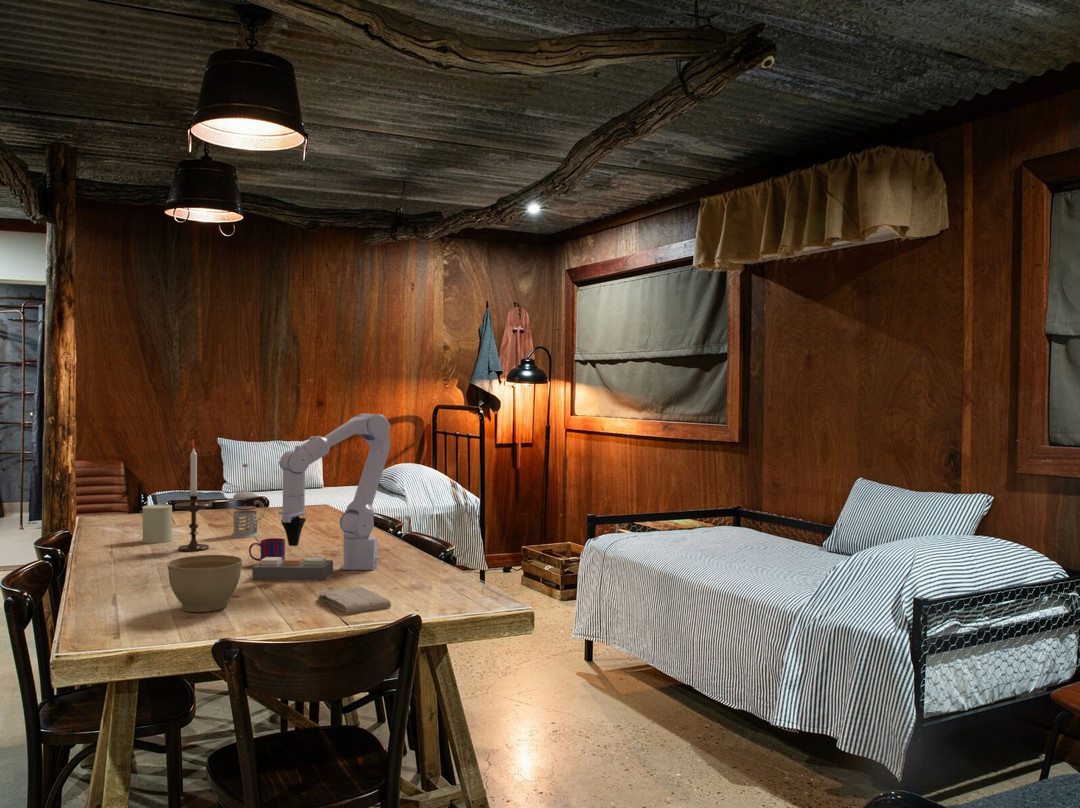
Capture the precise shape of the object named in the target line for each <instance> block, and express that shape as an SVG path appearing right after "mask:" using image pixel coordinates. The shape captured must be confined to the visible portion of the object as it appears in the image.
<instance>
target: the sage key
mask: <svg viewBox="0 0 1080 808" xmlns="http://www.w3.org/2000/svg"><path fill="white" fill-rule="evenodd" d="M305 560H306V561H305V566H323V565H324V564H325V563H326V560H327V558H326V557H317V556H316V557H314V556H312V557H308V558H307V559H305Z"/></svg>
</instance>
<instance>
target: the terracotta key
mask: <svg viewBox="0 0 1080 808" xmlns="http://www.w3.org/2000/svg"><path fill="white" fill-rule="evenodd" d="M304 560H305V557H299V556H298V557H297V556H295V557H291V556H288V557H285V559H284V560H283V565H292V566H300V565H302V564H303V563H304Z"/></svg>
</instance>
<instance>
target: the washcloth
mask: <svg viewBox="0 0 1080 808" xmlns="http://www.w3.org/2000/svg"><path fill="white" fill-rule="evenodd" d="M317 600H319V602H320V603H322V604H323V605H325V606H326V607H329V608H330V609H332V610H334V611H337V612H339V613H341V614H343V615H352V614H358V613H362V612H363V613H364V612H370V611H371V612H372V611H377V610H384V609H385V610H386V609H389V608H391V607H392V603H391V600H390V599H389V598H386V597H385V596H382V595H380V594H379V593H376V592H374V591H372V590H369V589H367V588H365V587H363V586H360V585H359V586H352V587H349V588H348V587H347V588H343V589H342V588H341V589H339V588H337V589H336V588H333V589H327V590H323V591H319V595H318V597H317Z"/></svg>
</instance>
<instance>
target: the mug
mask: <svg viewBox="0 0 1080 808" xmlns="http://www.w3.org/2000/svg"><path fill="white" fill-rule="evenodd" d="M255 545H257V546H259V547H260V558H256V557H254V556H253V555H252V548H253V546H255ZM248 553H249V554H248V555H249V556H250V557H251V559H253V560H255V561H258V562H261V560H262V559H264V558H265V557H282V560H284V559H286V540H285V538H278V537H275V538H274V537H273V538H272V537H271V538H263V539H260V543H259V542H254V543H251V544H250V545H249V549H248Z"/></svg>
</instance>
